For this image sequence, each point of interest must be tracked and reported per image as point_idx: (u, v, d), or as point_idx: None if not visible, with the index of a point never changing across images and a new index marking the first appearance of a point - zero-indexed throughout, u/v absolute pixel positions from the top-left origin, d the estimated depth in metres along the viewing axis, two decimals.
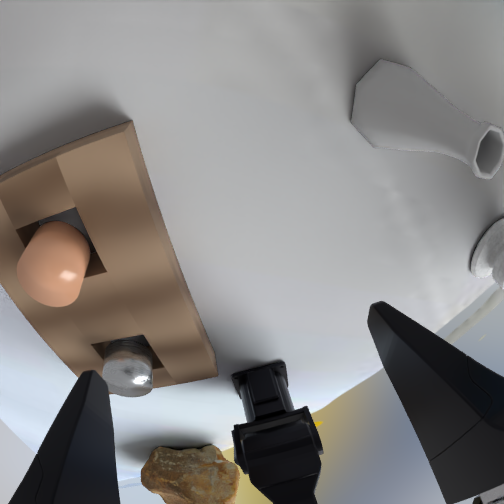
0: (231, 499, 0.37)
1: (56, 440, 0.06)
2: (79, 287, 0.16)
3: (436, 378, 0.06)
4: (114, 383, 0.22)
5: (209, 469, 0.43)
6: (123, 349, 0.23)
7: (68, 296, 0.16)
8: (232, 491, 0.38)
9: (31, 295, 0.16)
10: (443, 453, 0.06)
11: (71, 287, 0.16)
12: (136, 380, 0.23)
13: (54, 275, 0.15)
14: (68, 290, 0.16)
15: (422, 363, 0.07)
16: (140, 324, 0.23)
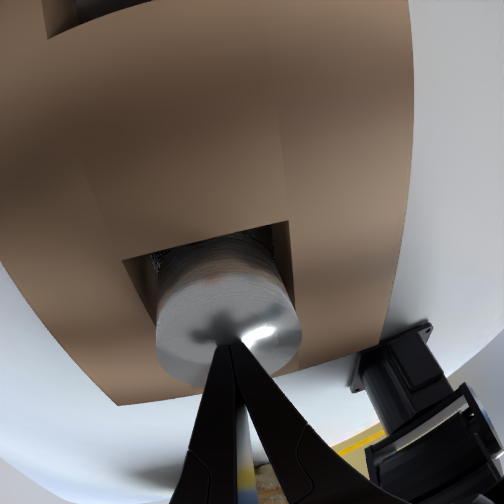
0: None
1: (214, 428, 0.06)
2: None
3: None
4: (194, 348, 0.09)
5: (272, 498, 0.29)
6: (225, 248, 0.10)
7: None
8: None
9: None
10: None
11: None
12: (266, 331, 0.09)
13: None
14: None
15: None
16: (293, 182, 0.09)
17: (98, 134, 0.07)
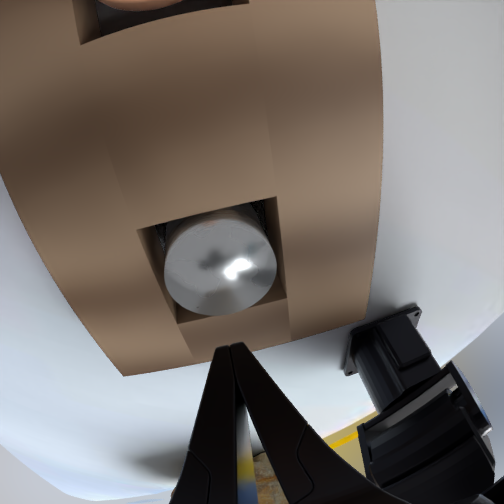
0: None
1: (214, 428, 0.06)
2: None
3: None
4: (193, 272, 0.12)
5: (270, 485, 0.30)
6: None
7: None
8: None
9: None
10: None
11: None
12: (248, 258, 0.12)
13: None
14: None
15: None
16: (280, 164, 0.10)
17: (121, 123, 0.08)
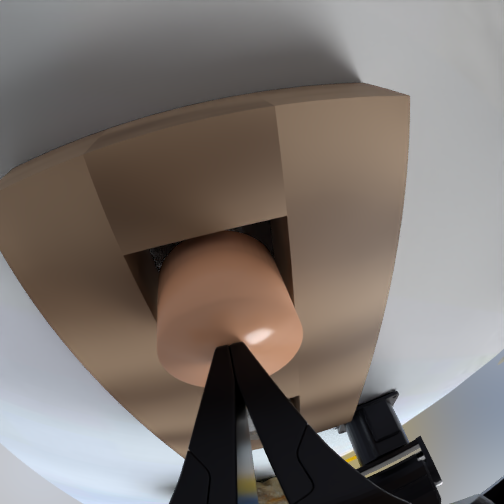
0: None
1: (214, 428, 0.06)
2: (292, 354, 0.10)
3: None
4: None
5: None
6: None
7: None
8: None
9: (178, 376, 0.09)
10: None
11: (278, 356, 0.10)
12: None
13: (253, 342, 0.09)
14: (268, 361, 0.10)
15: None
16: (303, 385, 0.16)
17: None
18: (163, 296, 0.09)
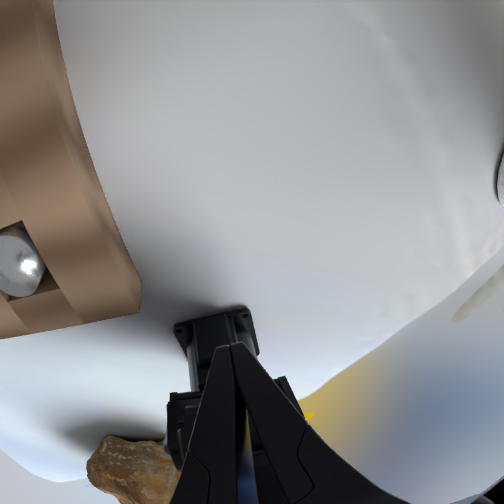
0: None
1: (214, 428, 0.06)
2: None
3: (261, 443, 0.06)
4: None
5: (166, 468, 0.33)
6: None
7: None
8: None
9: None
10: None
11: None
12: (17, 259, 0.15)
13: None
14: None
15: (252, 422, 0.06)
16: (16, 200, 0.13)
17: None
18: None
